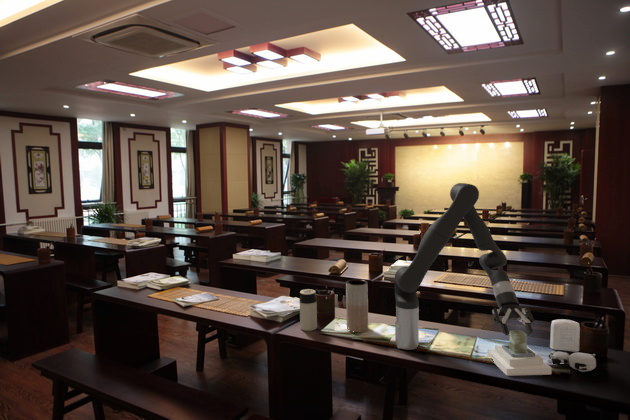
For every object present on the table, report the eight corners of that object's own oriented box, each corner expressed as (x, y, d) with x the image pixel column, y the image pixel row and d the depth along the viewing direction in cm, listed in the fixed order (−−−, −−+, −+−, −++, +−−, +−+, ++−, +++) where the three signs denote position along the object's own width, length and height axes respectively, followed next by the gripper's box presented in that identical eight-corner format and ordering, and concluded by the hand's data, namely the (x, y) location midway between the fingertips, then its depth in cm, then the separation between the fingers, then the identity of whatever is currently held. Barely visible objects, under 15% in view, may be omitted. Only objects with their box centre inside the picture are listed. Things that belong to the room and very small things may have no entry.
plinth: (506, 375, 148) (507, 359, 147) (487, 356, 164) (487, 341, 163) (551, 374, 148) (551, 358, 147) (527, 354, 164) (528, 340, 163)
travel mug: (320, 326, 199) (319, 290, 198) (311, 332, 192) (310, 294, 191) (306, 324, 203) (305, 288, 202) (297, 329, 197) (296, 292, 195)
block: (514, 354, 153) (514, 334, 153) (509, 349, 157) (509, 330, 157) (526, 353, 153) (526, 334, 153) (521, 349, 157) (521, 330, 157)
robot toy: (546, 369, 154) (594, 378, 144) (545, 357, 153) (594, 365, 144) (551, 357, 163) (597, 364, 154) (551, 346, 163) (597, 352, 154)
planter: (353, 323, 202) (352, 278, 200) (371, 327, 196) (371, 280, 194) (342, 330, 194) (341, 282, 192) (361, 334, 188) (360, 285, 186)
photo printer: (577, 348, 168) (578, 319, 167) (580, 353, 164) (581, 322, 163) (548, 346, 171) (549, 317, 170) (551, 350, 167) (552, 320, 166)
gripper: (490, 291, 162) (503, 330, 151) (526, 290, 162) (542, 329, 151) (484, 300, 167) (496, 339, 157) (519, 299, 167) (534, 338, 157)
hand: (518, 334), depth 154 cm, fingers open, 8 cm apart
